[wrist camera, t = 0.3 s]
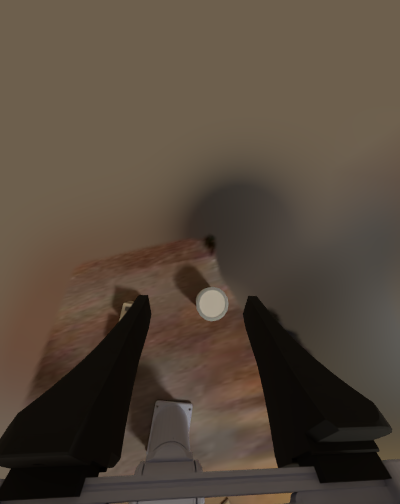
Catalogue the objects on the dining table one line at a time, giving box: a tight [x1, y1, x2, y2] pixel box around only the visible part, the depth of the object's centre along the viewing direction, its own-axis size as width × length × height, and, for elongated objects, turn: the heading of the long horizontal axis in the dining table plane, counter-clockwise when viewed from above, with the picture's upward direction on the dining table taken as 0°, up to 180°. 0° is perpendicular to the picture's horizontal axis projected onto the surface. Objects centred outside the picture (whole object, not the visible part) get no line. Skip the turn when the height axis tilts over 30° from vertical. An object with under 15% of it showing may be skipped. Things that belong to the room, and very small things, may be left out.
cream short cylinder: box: [196, 287, 228, 321], centre depth 37 cm, size 7×7×7 cm
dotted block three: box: [119, 301, 134, 321], centre depth 36 cm, size 4×5×5 cm
